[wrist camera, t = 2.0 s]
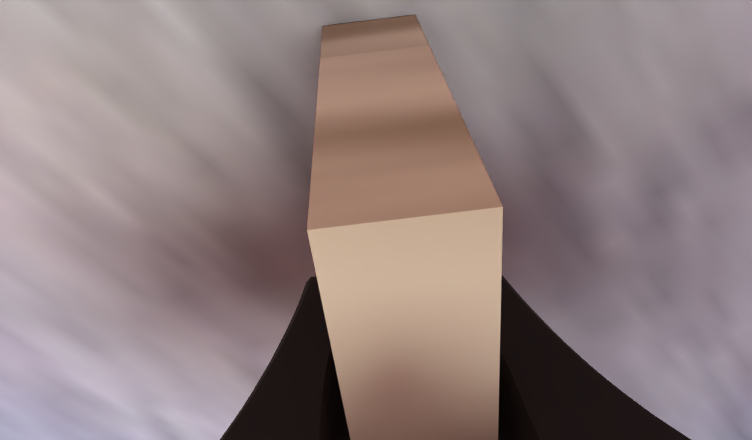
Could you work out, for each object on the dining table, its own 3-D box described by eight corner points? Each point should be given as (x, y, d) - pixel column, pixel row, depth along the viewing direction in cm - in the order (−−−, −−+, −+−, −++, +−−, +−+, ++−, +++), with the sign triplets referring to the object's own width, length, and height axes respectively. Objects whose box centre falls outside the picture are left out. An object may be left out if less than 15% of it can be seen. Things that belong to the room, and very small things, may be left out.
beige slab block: (322, 26, 11) (306, 229, 5) (415, 14, 11) (503, 206, 5) (376, 377, 17) (397, 666, 11) (438, 369, 17) (493, 656, 11)
